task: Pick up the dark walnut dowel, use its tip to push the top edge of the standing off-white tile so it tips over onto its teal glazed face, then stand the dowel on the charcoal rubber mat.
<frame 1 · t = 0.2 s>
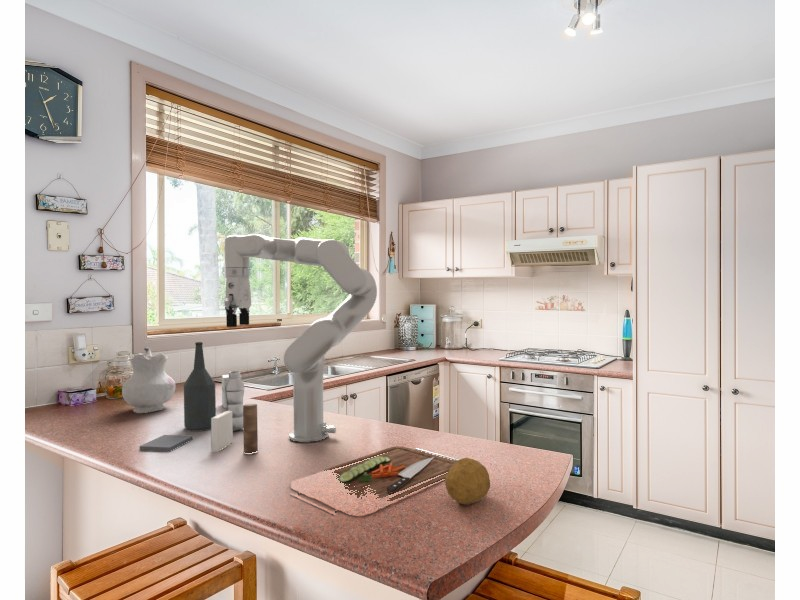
hand: (238, 325, 165), 36 cm above the table, tool pointing down, fingers open, 9 cm apart
ceramic pitcher: (148, 409, 204), on the table
tile: (222, 447, 154), on the table
mat: (166, 444, 156), on the table
chopping board: (382, 479, 128), on the table
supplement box: (232, 406, 210), on the table
bottle: (200, 427, 176), on the table
potato: (468, 501, 113), on the table
dowel: (250, 452, 148), on the table
plastic bottle: (235, 430, 172), on the table
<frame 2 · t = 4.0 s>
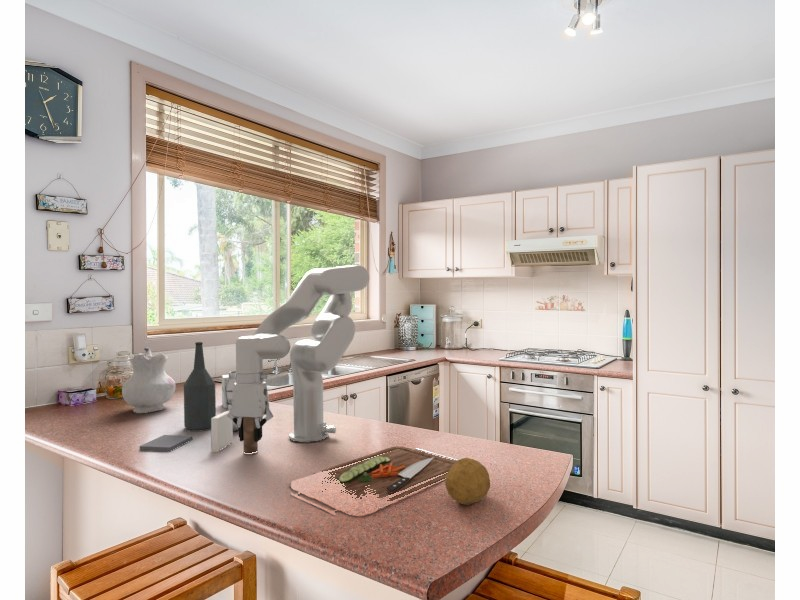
hand: (250, 439, 148), 4 cm above the table, tool pointing down, fingers closed on dowel, 4 cm apart
dowel: (250, 452, 148), on the table, touching gripper
everything else where it was.
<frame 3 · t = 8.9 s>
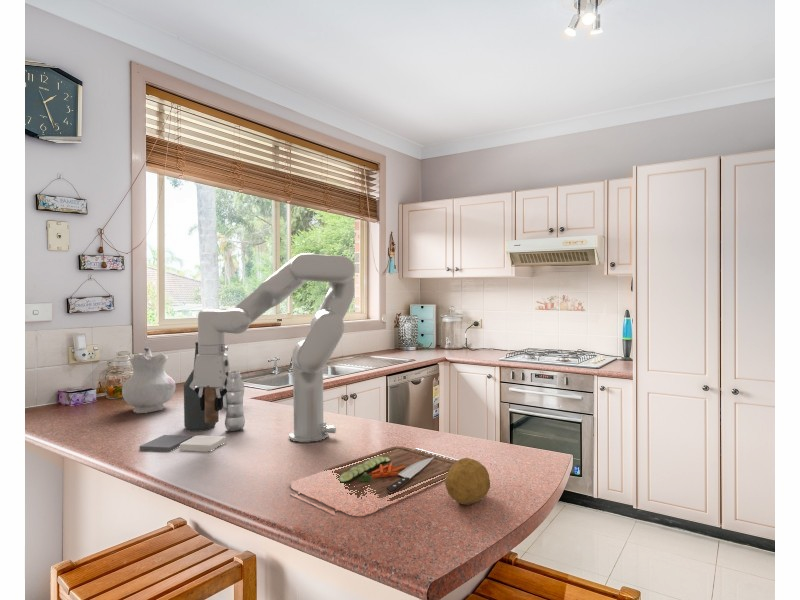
hand: (211, 409, 154), 12 cm above the table, tool pointing down, fingers closed on dowel, 4 cm apart
tile: (218, 444, 154), point 1 cm above the table, tilted 90°
dowel: (211, 421, 154), point 8 cm above the table, touching gripper
everything else where it was.
when the fingers open (6 cm above the table, at t = 15.1 s): dowel drops 1 cm, resting on mat.
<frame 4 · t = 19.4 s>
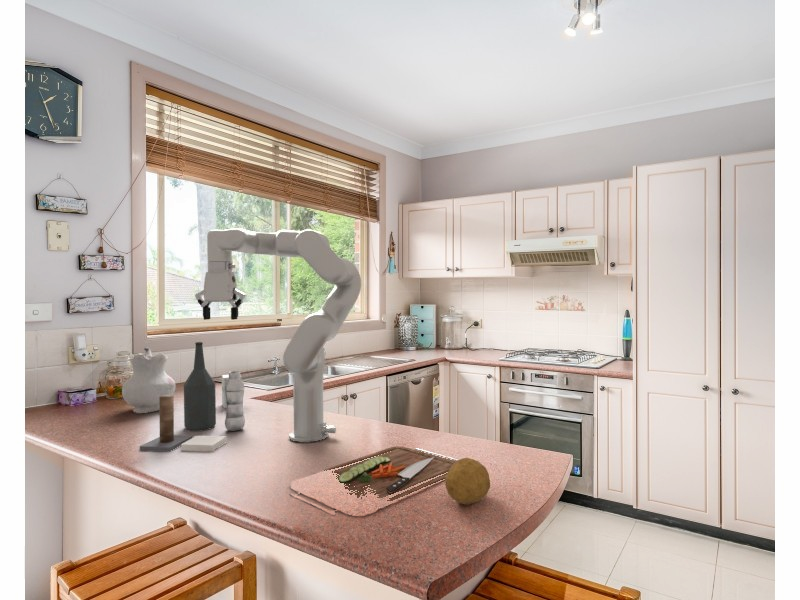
hand: (220, 319, 167), 38 cm above the table, tool pointing down, fingers open, 9 cm apart
dowel: (166, 440, 156), point 1 cm above the table, touching mat
at the end: tile tilted 90°; dowel touching mat; dowel 0.1 cm from the mat (horizontally) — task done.
